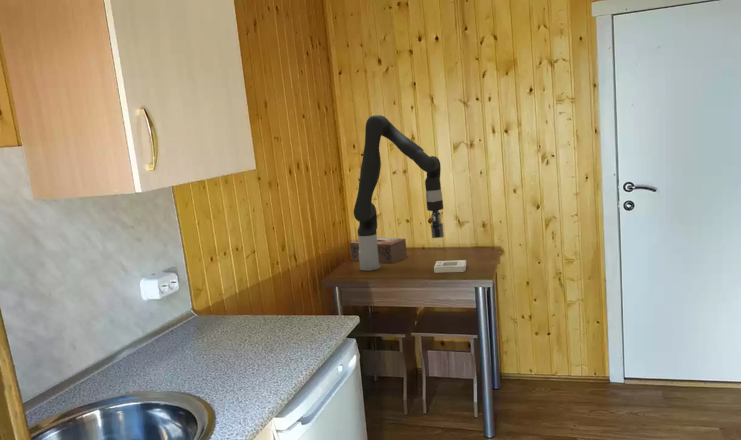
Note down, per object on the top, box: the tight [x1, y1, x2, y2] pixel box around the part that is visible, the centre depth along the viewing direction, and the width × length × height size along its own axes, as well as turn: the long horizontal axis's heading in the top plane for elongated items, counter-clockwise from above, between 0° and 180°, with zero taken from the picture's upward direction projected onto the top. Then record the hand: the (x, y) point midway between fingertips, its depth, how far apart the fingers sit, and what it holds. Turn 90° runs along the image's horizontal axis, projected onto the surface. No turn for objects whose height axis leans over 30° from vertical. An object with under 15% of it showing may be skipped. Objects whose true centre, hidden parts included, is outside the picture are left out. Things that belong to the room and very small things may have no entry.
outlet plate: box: [433, 259, 467, 274], centre depth 273 cm, size 14×12×3 cm
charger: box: [430, 222, 445, 239], centre depth 271 cm, size 5×4×6 cm
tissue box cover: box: [349, 237, 408, 264], centre depth 307 cm, size 26×14×10 cm, turn 55°
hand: (438, 235), depth 271 cm, fingers closed on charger, 4 cm apart
